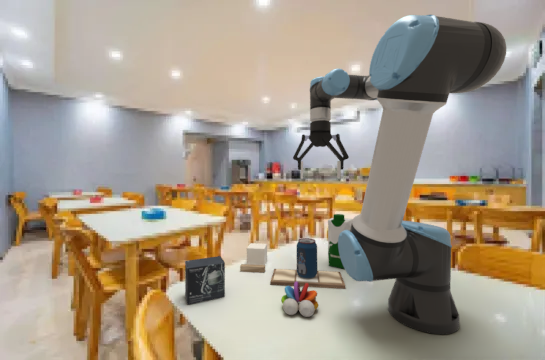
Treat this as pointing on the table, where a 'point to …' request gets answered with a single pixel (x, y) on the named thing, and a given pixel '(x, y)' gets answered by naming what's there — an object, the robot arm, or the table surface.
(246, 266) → the stick
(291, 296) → the rainbow petal fan toy
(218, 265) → the box
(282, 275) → the board
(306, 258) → the soda can
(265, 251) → the white cube
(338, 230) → the milk carton
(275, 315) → the table surface
